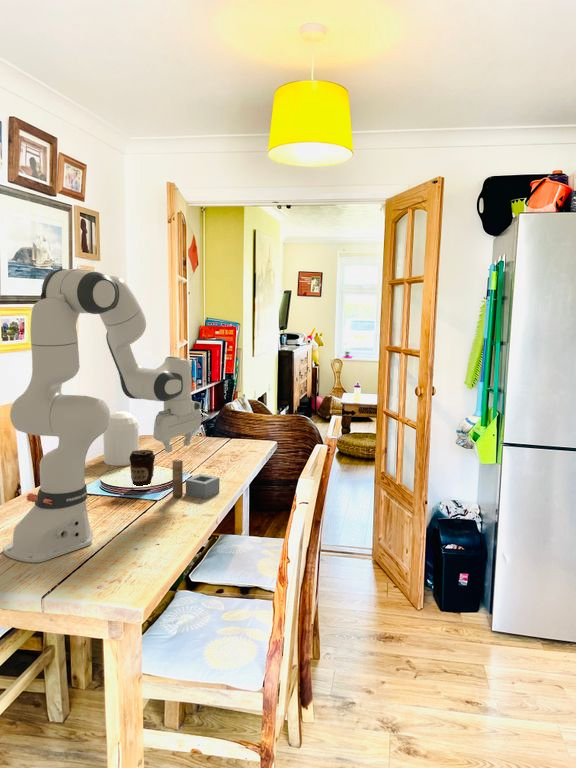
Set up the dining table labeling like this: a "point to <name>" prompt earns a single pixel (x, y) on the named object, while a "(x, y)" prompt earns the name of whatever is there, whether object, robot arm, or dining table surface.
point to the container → (120, 438)
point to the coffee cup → (142, 467)
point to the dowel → (177, 479)
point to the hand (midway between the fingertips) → (178, 448)
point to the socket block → (202, 486)
